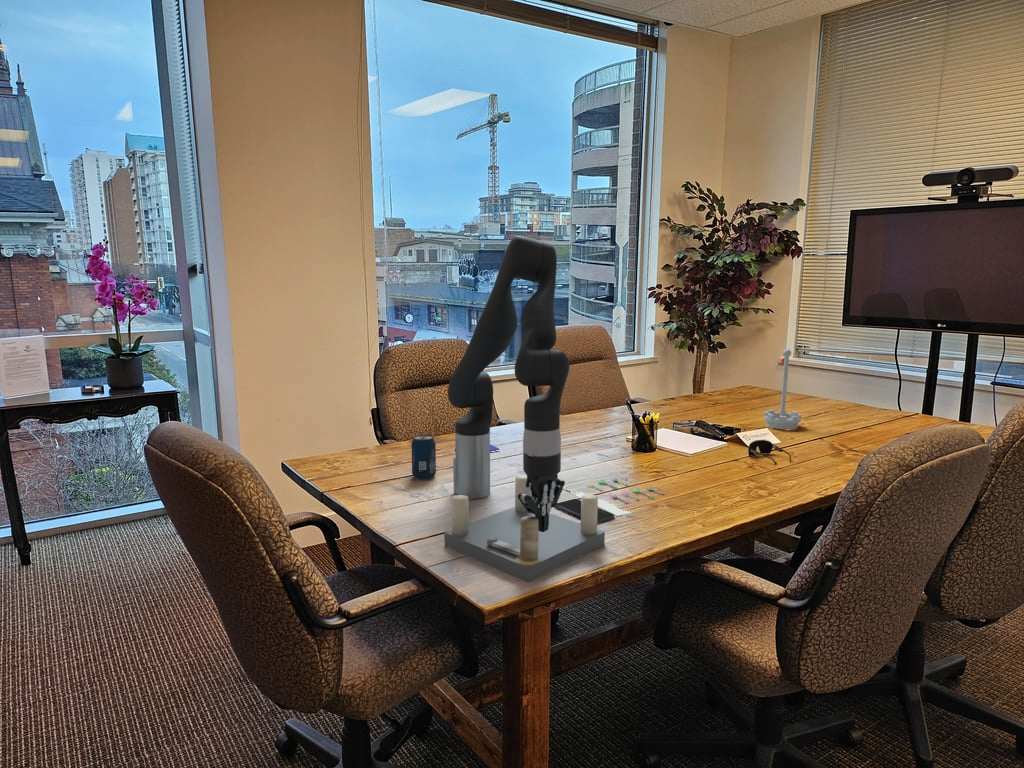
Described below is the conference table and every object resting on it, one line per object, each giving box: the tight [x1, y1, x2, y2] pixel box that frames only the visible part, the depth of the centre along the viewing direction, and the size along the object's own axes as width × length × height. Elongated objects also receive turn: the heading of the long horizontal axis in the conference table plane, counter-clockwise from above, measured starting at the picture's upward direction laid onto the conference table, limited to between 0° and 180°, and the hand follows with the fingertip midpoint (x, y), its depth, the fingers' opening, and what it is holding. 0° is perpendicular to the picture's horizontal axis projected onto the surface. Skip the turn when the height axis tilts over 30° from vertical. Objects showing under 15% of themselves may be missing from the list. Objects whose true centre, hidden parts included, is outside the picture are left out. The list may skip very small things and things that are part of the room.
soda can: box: [410, 434, 437, 481], centre depth 196 cm, size 7×7×12 cm
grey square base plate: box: [443, 474, 606, 583], centre depth 148 cm, size 25×25×11 cm
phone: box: [554, 498, 615, 525], centre depth 169 cm, size 8×1×15 cm
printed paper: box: [570, 477, 665, 517], centre depth 187 cm, size 30×30×2 cm
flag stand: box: [763, 348, 802, 430], centre depth 256 cm, size 13×13×30 cm
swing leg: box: [487, 516, 539, 561], centre depth 138 cm, size 13×4×8 cm, turn 49°
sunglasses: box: [747, 439, 792, 465], centre depth 216 cm, size 10×12×5 cm
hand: (541, 530), depth 138 cm, fingers closed
